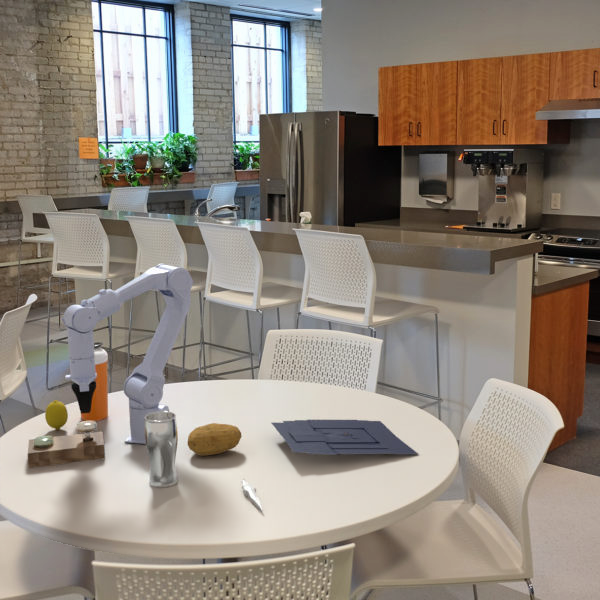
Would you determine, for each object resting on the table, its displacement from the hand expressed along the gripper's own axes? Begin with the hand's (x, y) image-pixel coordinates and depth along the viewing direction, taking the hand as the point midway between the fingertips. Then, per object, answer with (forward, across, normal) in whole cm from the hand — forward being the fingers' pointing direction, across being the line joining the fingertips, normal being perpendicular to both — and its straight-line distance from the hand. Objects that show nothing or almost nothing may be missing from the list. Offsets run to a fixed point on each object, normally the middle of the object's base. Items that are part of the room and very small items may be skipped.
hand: (85, 412), depth 191 cm
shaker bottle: (+10, -27, +2) cm, 29 cm away
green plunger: (+10, 0, -10) cm, 14 cm away
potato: (+10, +9, +29) cm, 32 cm away
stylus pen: (+11, +36, +32) cm, 49 cm away
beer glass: (+10, +22, +15) cm, 29 cm away
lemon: (+11, -19, -7) cm, 23 cm away
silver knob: (+7, 0, 0) cm, 7 cm away
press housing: (+10, 0, -5) cm, 11 cm away
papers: (+10, +14, +59) cm, 61 cm away
